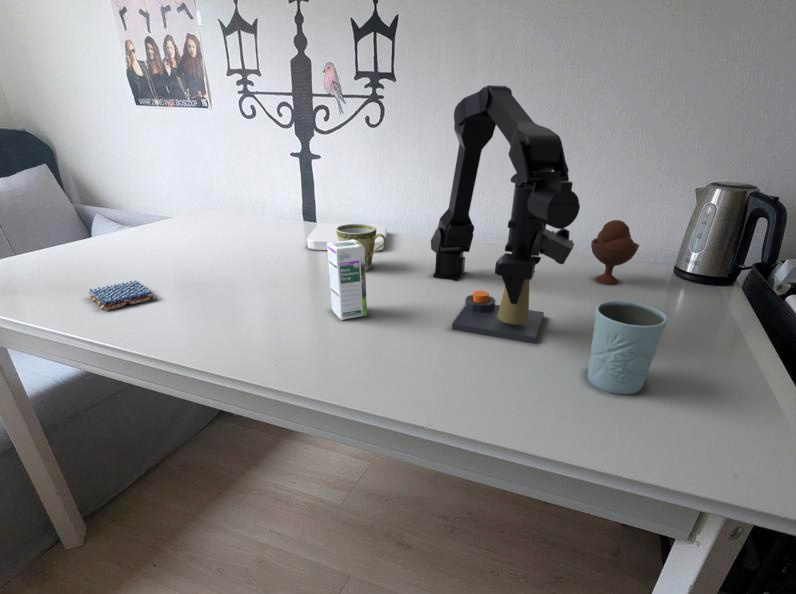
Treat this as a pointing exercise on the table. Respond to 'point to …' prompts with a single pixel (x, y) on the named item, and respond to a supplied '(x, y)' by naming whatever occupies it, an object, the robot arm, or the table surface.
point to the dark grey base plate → (495, 322)
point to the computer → (329, 234)
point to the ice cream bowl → (613, 248)
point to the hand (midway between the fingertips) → (515, 299)
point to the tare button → (480, 296)
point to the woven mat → (120, 295)
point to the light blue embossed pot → (624, 345)
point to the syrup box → (347, 278)
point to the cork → (515, 307)
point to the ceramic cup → (361, 238)
